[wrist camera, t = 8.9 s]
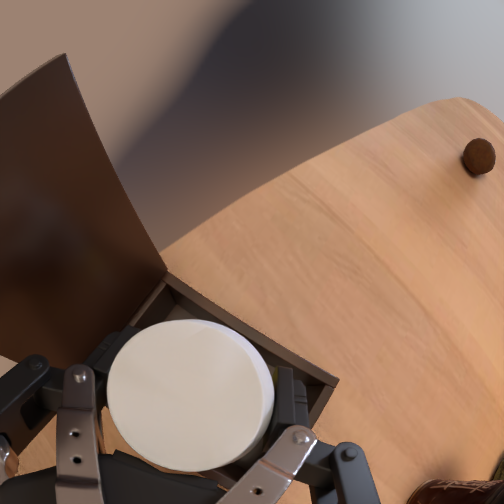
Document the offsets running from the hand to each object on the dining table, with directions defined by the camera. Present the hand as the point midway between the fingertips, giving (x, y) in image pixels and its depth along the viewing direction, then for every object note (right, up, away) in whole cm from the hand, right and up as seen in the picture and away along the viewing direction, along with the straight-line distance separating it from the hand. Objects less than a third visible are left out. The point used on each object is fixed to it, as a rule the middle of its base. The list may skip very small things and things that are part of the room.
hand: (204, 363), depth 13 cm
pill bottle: (-1, -4, +5) cm, 6 cm away
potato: (+45, +22, +29) cm, 58 cm away
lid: (-7, +4, -2) cm, 8 cm away
